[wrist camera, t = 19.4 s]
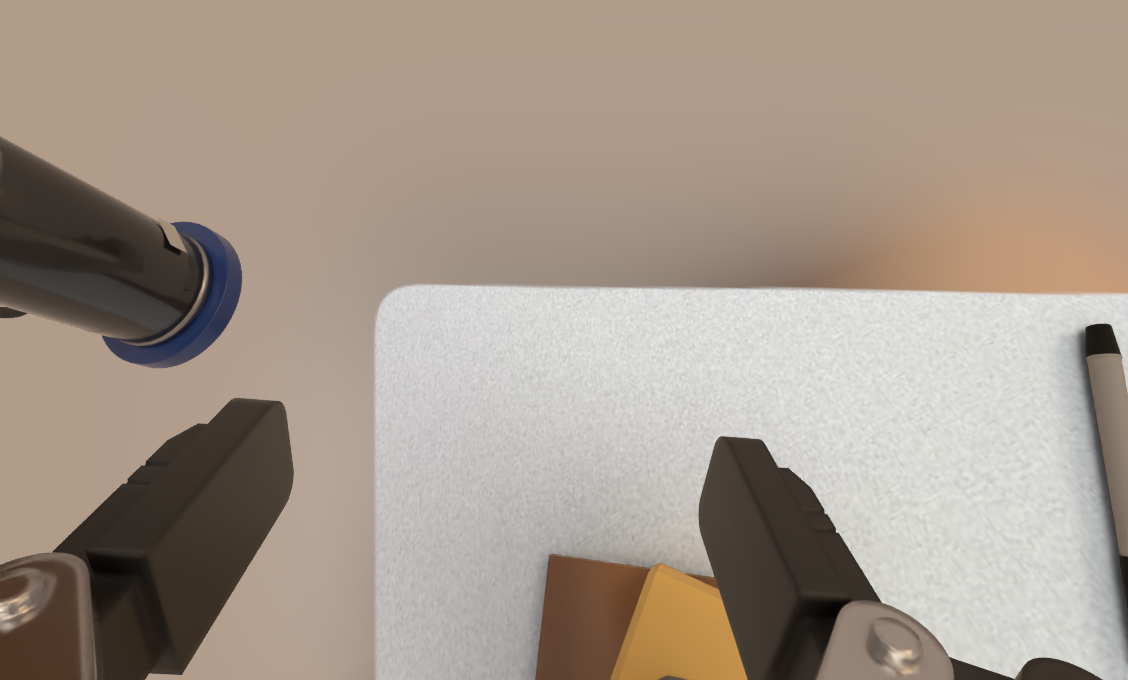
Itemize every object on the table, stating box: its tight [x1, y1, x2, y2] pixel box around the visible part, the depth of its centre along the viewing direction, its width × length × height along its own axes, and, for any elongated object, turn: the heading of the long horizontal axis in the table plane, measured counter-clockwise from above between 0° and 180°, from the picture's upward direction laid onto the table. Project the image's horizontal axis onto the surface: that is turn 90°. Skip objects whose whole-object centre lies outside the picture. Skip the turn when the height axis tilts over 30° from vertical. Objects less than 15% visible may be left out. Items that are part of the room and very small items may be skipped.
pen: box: [1086, 324, 1128, 606], centre depth 25 cm, size 1×16×1 cm, turn 175°
